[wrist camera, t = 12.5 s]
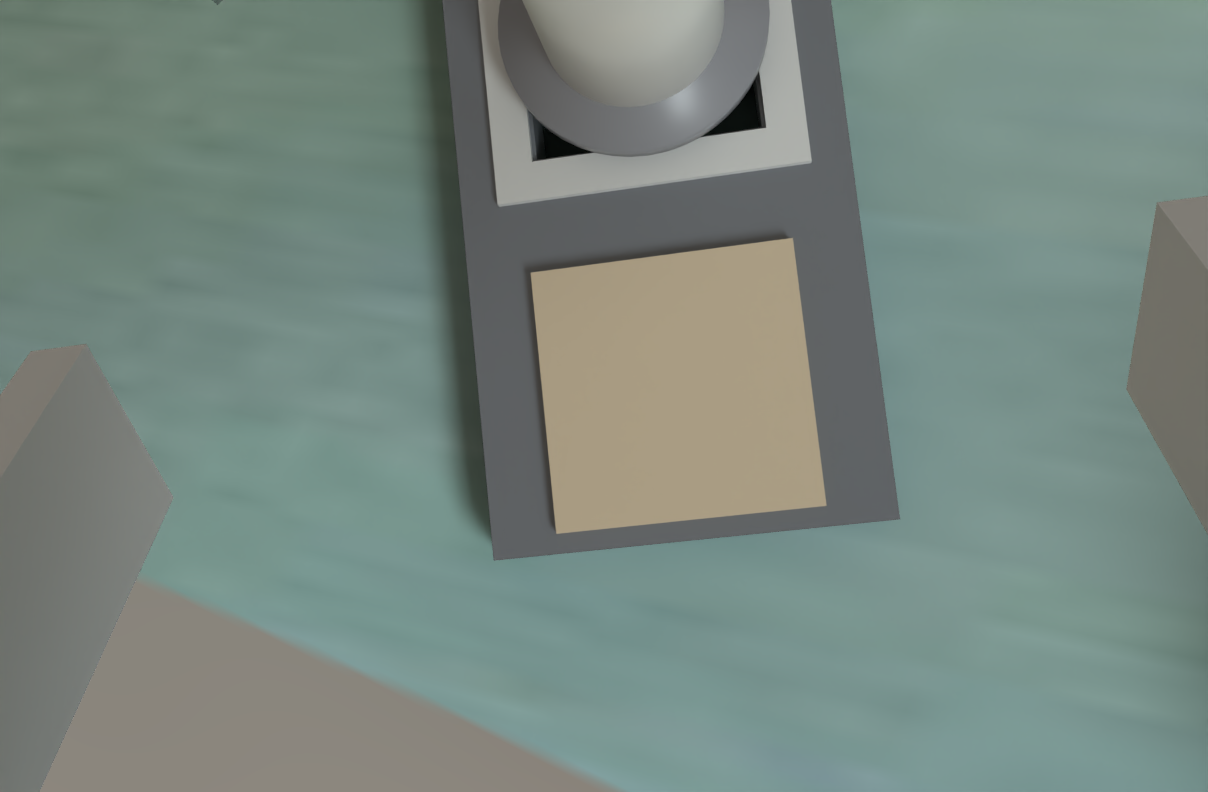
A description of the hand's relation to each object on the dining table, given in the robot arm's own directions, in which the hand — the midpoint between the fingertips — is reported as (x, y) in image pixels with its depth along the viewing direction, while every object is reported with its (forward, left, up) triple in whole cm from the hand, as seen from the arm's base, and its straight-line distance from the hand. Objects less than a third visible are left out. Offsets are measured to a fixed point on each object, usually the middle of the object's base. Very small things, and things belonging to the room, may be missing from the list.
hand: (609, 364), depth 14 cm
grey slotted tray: (0, -10, -15) cm, 18 cm away
